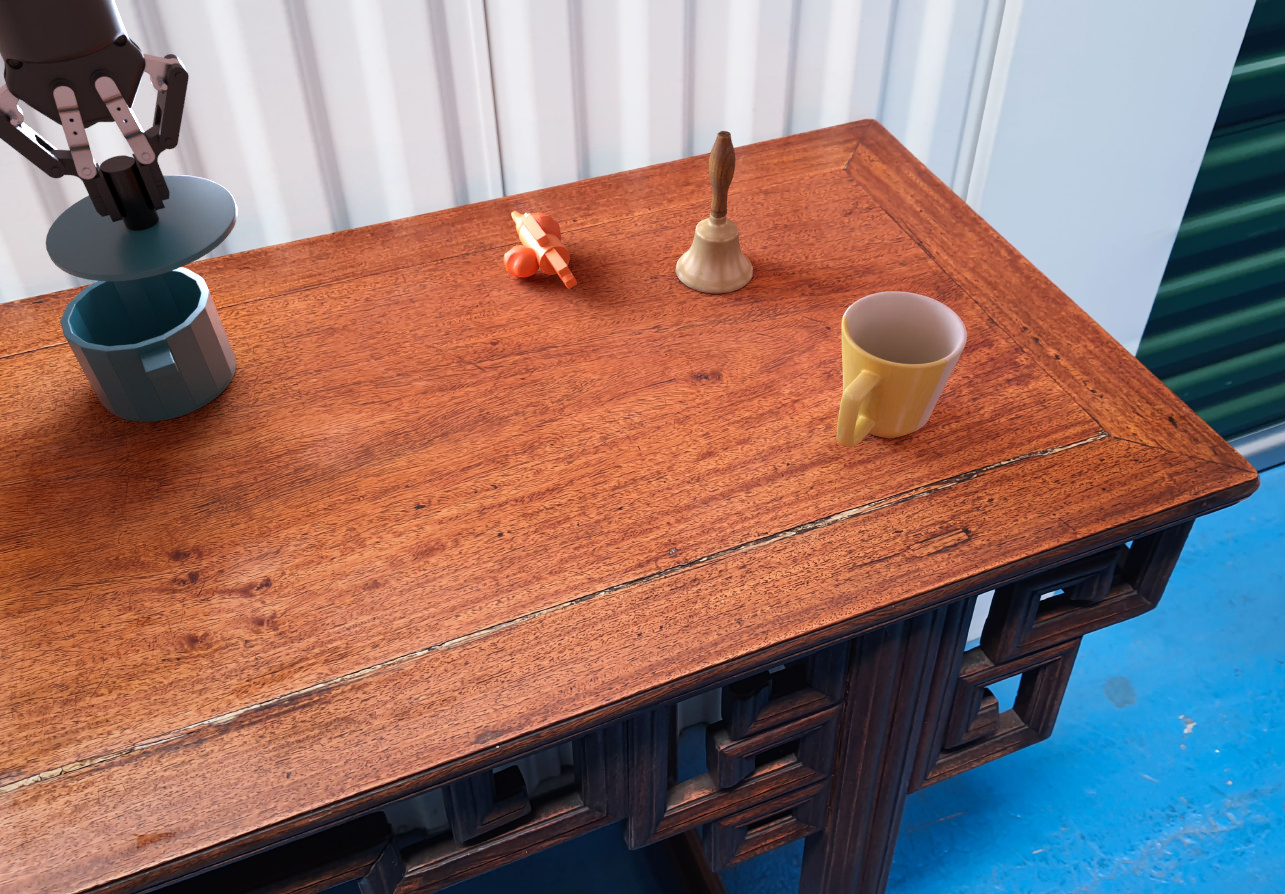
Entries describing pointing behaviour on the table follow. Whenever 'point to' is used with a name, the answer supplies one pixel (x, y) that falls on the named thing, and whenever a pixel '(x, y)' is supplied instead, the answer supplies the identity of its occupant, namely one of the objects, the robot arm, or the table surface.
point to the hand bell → (716, 234)
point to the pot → (150, 344)
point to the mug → (895, 363)
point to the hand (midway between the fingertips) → (136, 209)
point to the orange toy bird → (539, 248)
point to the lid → (141, 227)
